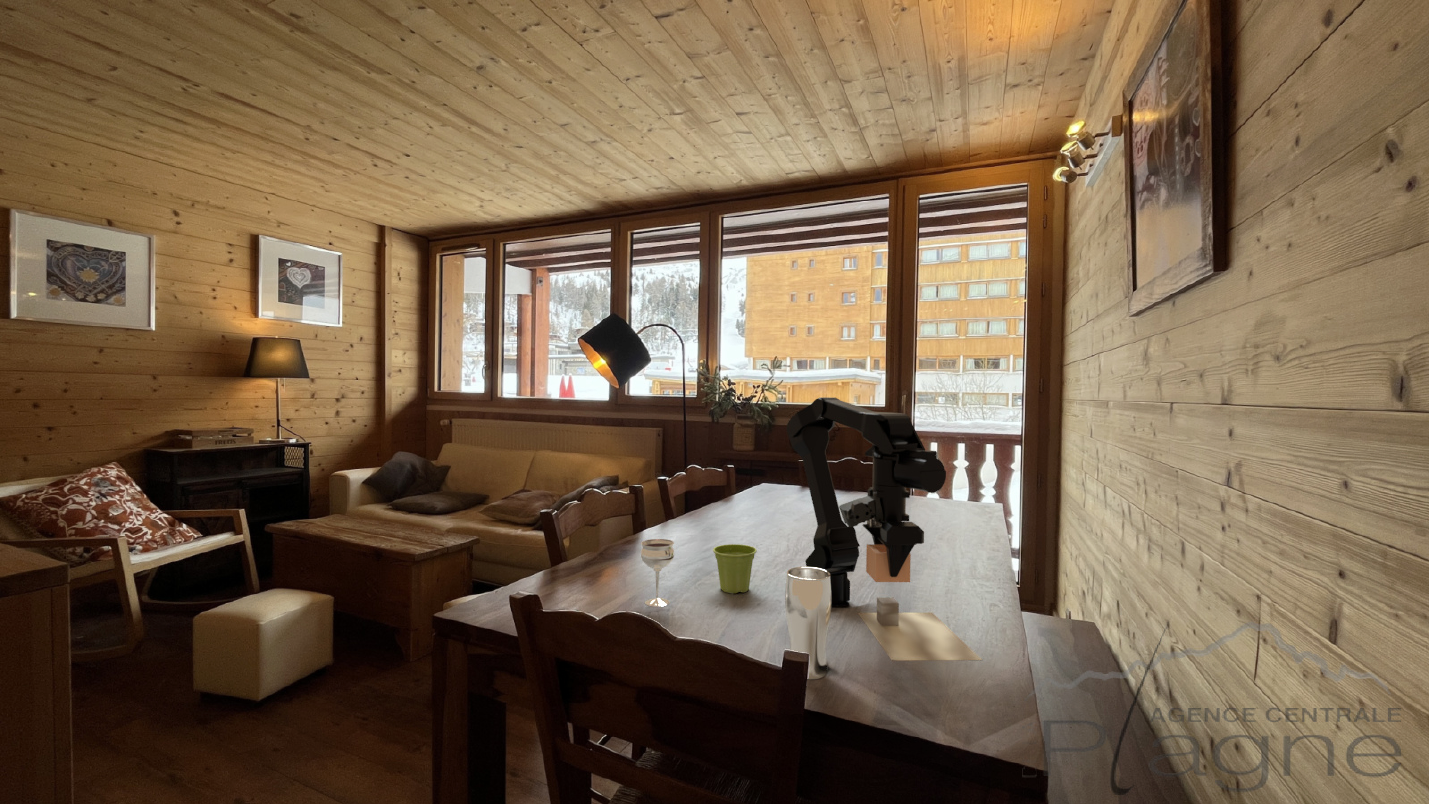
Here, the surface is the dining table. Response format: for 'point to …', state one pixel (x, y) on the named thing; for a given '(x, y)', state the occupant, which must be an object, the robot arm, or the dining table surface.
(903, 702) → the dining table surface
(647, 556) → the wineglass
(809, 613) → the beer glass
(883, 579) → the collar
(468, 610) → the dining table surface
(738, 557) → the plant pot
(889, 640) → the post board
